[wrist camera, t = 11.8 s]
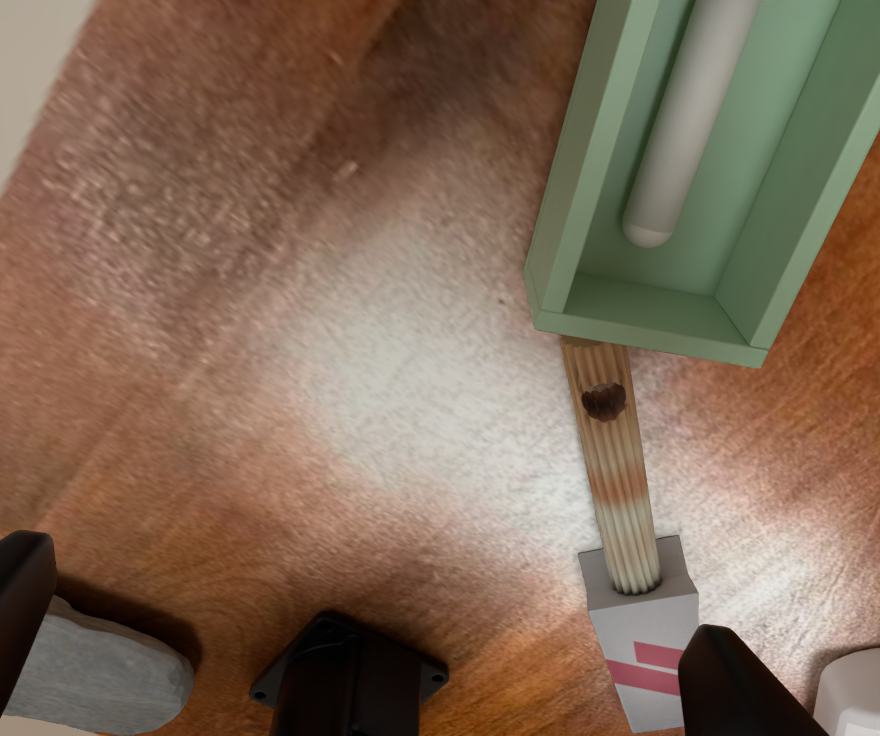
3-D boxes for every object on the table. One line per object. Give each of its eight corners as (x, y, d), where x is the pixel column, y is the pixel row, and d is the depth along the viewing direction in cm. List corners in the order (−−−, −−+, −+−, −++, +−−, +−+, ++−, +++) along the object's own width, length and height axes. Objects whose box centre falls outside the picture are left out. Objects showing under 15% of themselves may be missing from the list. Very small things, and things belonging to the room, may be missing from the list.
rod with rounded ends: (670, 248, 20) (657, 261, 19) (623, 232, 21) (608, 243, 19) (786, -54, 16) (778, -60, 15) (725, -66, 17) (713, -73, 16)
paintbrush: (701, 690, 32) (643, 296, 22) (721, 751, 30) (666, 340, 20) (614, 704, 33) (518, 326, 22) (627, 764, 30) (526, 373, 20)
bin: (718, 310, 22) (760, 370, 19) (521, 274, 22) (533, 330, 19) (909, -124, 16) (1013, -136, 13) (648, -189, 16) (695, -215, 13)
